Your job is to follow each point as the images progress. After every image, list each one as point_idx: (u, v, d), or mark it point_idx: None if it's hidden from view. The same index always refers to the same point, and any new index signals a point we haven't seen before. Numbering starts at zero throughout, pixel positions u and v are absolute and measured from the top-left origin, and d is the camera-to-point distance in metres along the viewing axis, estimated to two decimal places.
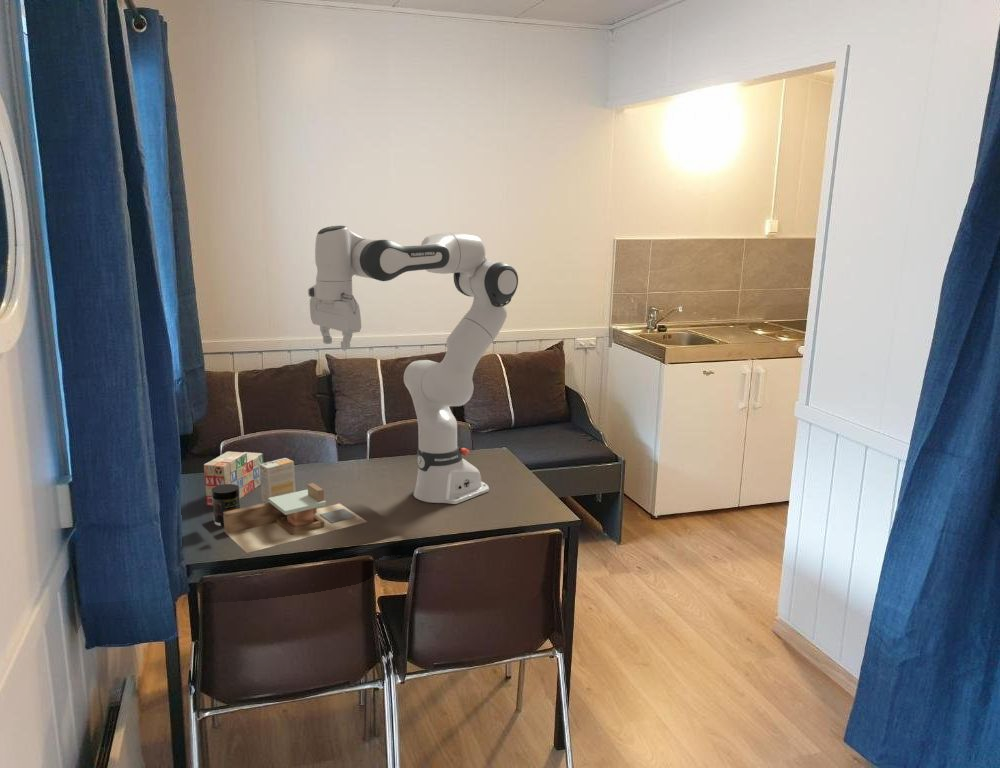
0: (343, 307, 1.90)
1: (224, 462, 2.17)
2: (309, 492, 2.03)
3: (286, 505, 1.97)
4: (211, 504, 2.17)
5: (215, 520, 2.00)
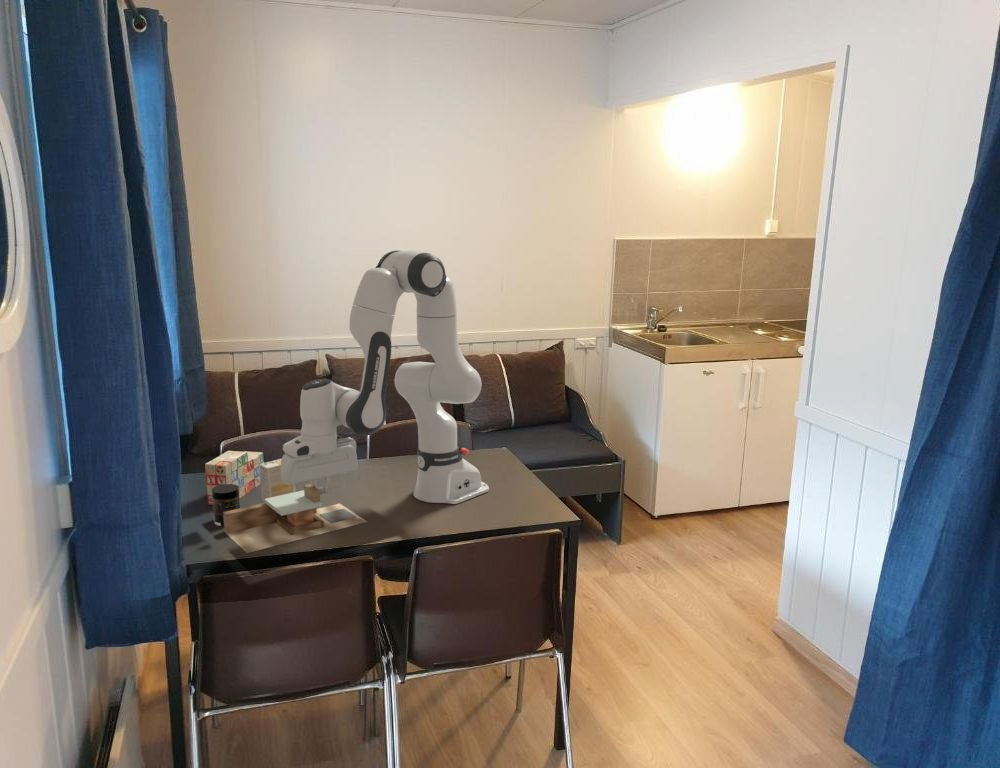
0: (349, 450, 2.04)
1: (225, 461, 2.17)
2: (305, 493, 2.02)
3: (282, 506, 1.96)
4: (212, 503, 2.18)
5: (215, 520, 2.00)
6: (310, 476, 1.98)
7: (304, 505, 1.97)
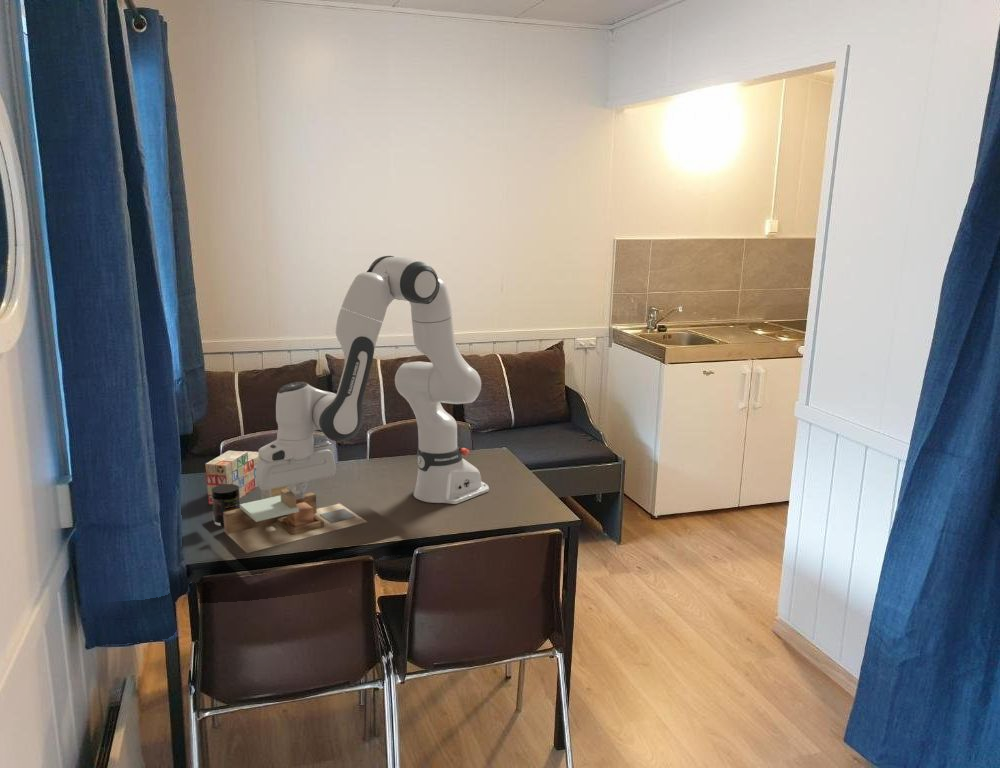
0: (327, 455, 2.00)
1: (226, 461, 2.17)
2: (282, 498, 1.98)
3: (257, 512, 1.92)
4: None
5: (215, 520, 2.00)
6: (286, 481, 1.94)
7: (280, 511, 1.93)
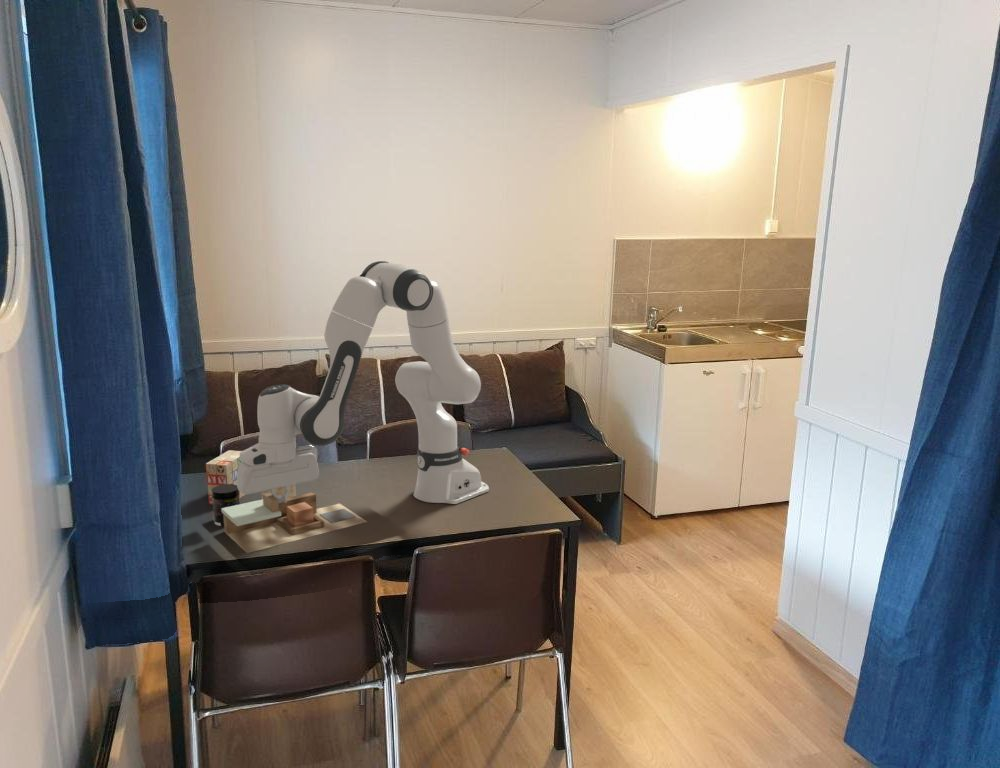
0: (310, 458, 1.97)
1: (226, 461, 2.18)
2: (264, 502, 1.96)
3: (239, 516, 1.89)
4: None
5: (215, 520, 2.00)
6: (268, 485, 1.91)
7: (262, 515, 1.90)
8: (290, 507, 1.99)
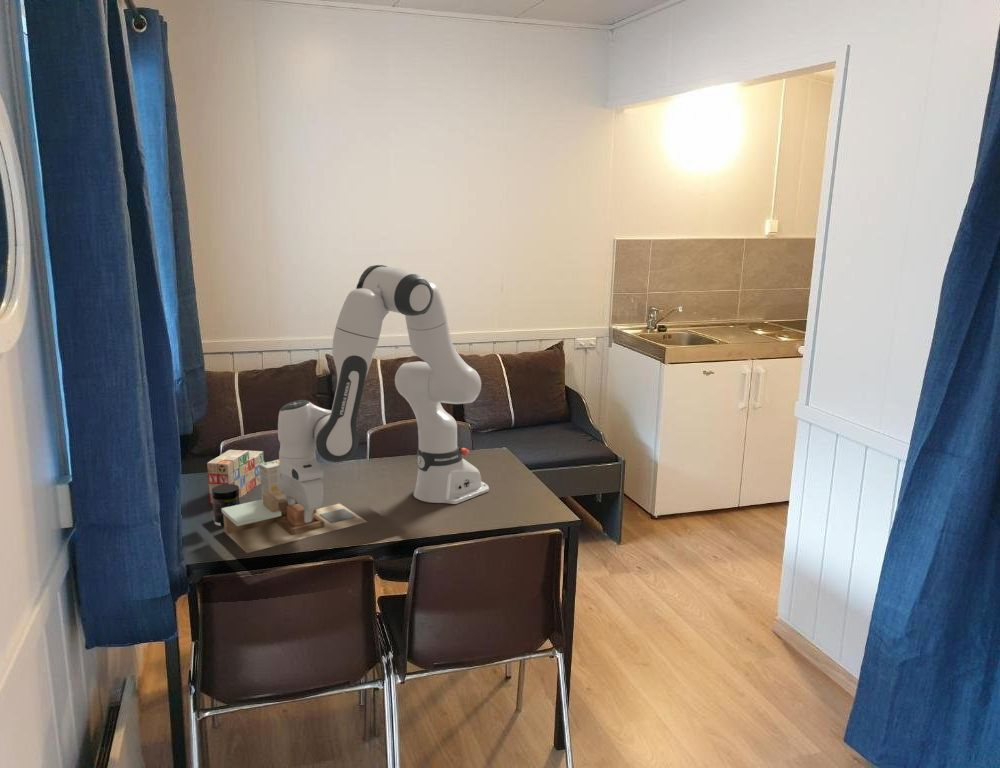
0: None
1: (227, 460, 2.18)
2: (264, 502, 1.96)
3: (239, 516, 1.89)
4: None
5: (215, 520, 2.00)
6: None
7: (262, 515, 1.90)
8: (290, 507, 1.99)
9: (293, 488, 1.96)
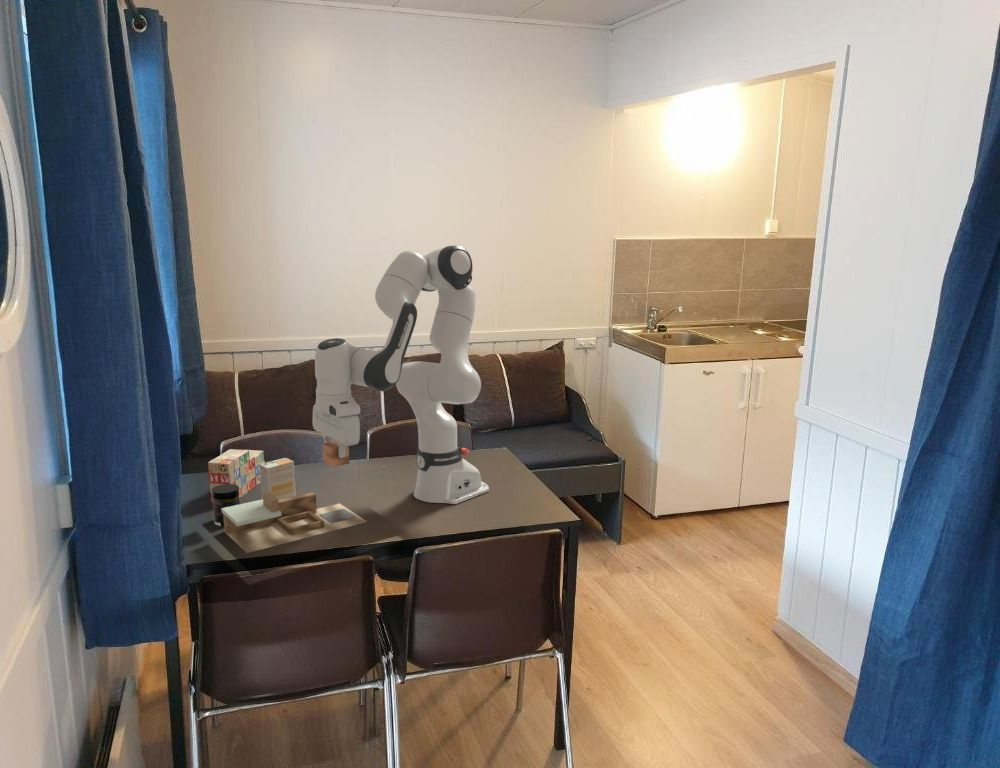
0: None
1: (228, 459, 2.19)
2: (264, 502, 1.96)
3: (239, 516, 1.89)
4: None
5: (215, 520, 2.00)
6: None
7: (262, 515, 1.90)
8: (326, 444, 2.02)
9: (330, 426, 2.00)
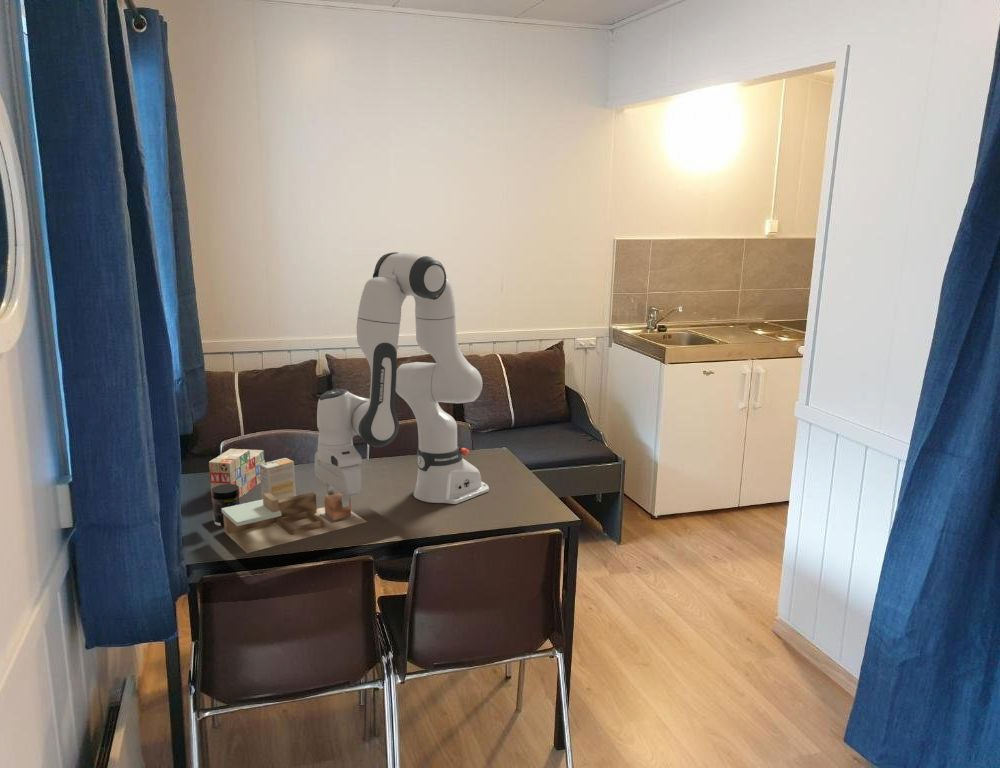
0: None
1: (229, 459, 2.19)
2: (264, 502, 1.96)
3: (239, 516, 1.89)
4: None
5: (215, 520, 2.00)
6: None
7: (262, 515, 1.90)
8: (328, 497, 2.06)
9: (332, 475, 2.02)
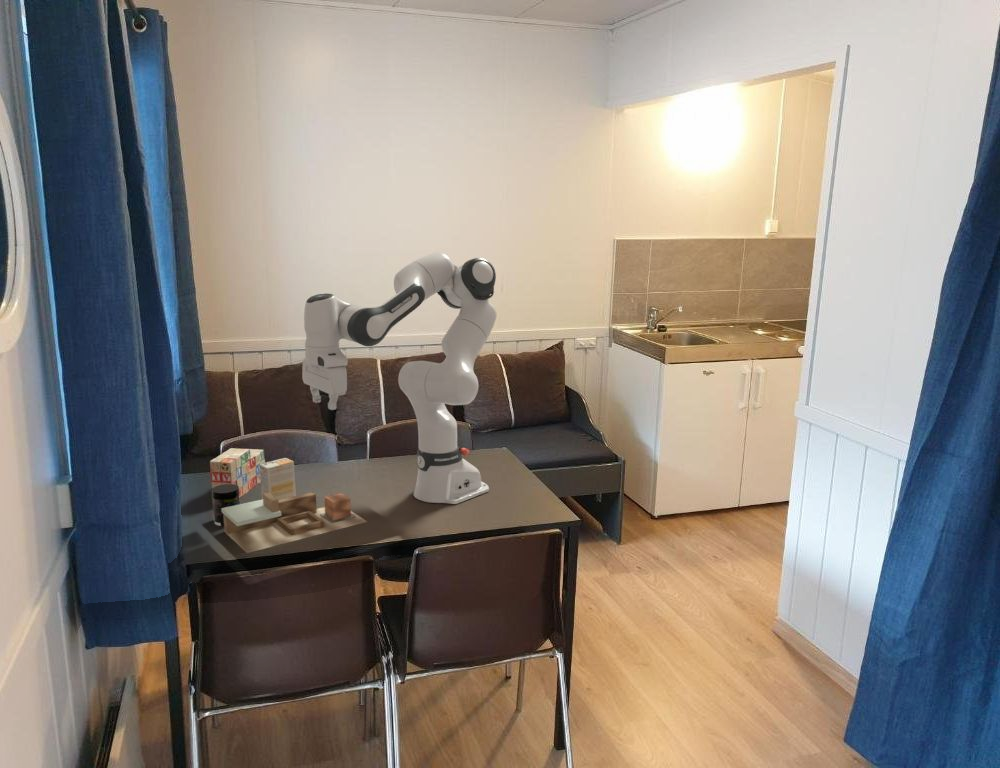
0: None
1: (230, 458, 2.20)
2: (264, 502, 1.96)
3: (239, 516, 1.89)
4: None
5: (215, 520, 2.00)
6: None
7: (262, 515, 1.90)
8: (328, 497, 2.06)
9: (319, 378, 2.07)
